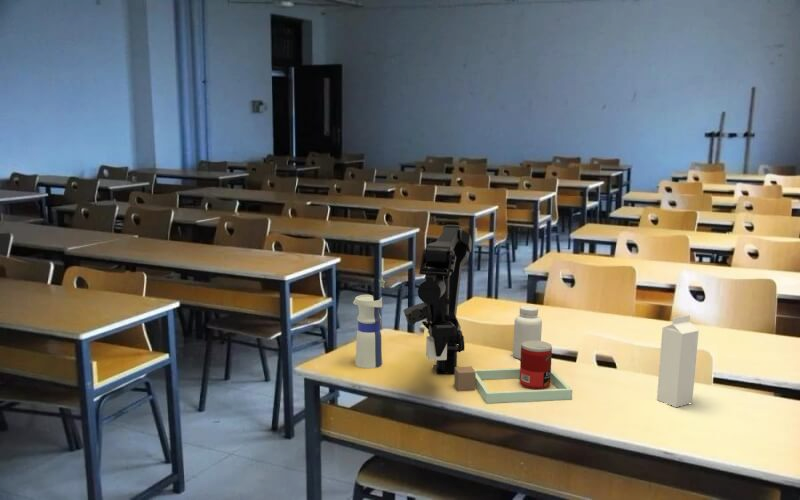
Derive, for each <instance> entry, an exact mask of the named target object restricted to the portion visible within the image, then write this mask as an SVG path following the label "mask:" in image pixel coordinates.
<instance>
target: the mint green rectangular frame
mask: <svg viewBox="0 0 800 500" xmlns="http://www.w3.org/2000/svg"><path fill="white" fill-rule="evenodd" d="M474 371H475V372H476V376H475V389H477V392H479V394H480V396H481V398H483V401H484V402H485V404H498V403H499V404H500V403H518V402H519V403H521V402H522V403H523V402H543V401H546V402H547V401H561V400H562V401H565V400H567V401H568V400H573V389H572V388H571V387H570V386H569V385H568V384H567V383H566V382H565V381H564V380H563V379H562V378H561V377H560V376H559V375H558V373H556V372H555V371H554V370H553V369H552V368H551V377H550V383H552V384H553V386H555V388H551V389H550V388H548V389H547V388H546V389H527V390H506V391H504V390H503V391H490V390H489V388H488V387H487V386H486V385H485V383H484V381H483V380H485V381H487V380H504V379H505V380H506V379H507V380H508V379H509V380H510V379H520V367H512V368H509V367H508V368H493V369H492V368H490V369H488V368H487V369H485V368H484V369H474Z"/></svg>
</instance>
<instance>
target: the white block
mask: <svg viewBox="0 0 800 500" xmlns="http://www.w3.org/2000/svg"><path fill="white" fill-rule="evenodd" d="M425 343H426V347H425V348H426V349H425V356H426V357H427V359H428V361H431V362H432V361H436V360H447V344H446V346H445V348H444V350H443V352H442V354H441V356H440V357H437V356H436V353H435V346H434V339H433V337H432V336H430V335H429V336H426V342H425Z"/></svg>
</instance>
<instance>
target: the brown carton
mask: <svg viewBox="0 0 800 500" xmlns="http://www.w3.org/2000/svg"><path fill="white" fill-rule="evenodd" d="M474 370H475V369H474V368H473V366H457V367H455V373H454V375H453V377H454V378H453V381H454V383H453V385H454V387H455V389H456V390H457V392H472V391H474V392H475V391H476V387H475V376H476V372H475V371H474Z"/></svg>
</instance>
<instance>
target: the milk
mask: <svg viewBox="0 0 800 500" xmlns="http://www.w3.org/2000/svg"><path fill="white" fill-rule="evenodd" d="M690 317H691V316H690V315H683V316H678V317H677V316H676V317H673V318H672V323H671V324H669V325H666V326H663V327H662V328H661V329H662V331H661V343H660V353H659V354H660V356H659V367H658V368H659V369H658V379H657V380H658V382H657V395H656V400H657V401H659V402H661V403H663V402H664V404H666V403H667V404H666V405H668V404H669V405H668V406H670V405H672V406H671V407H673V406H674V407H673V408H675V407H678V408H680V407H679V406H681V407H684V406H683V405H685V406H687V405H686V404H689V403H692V404H693V400H694V399H693V396H694V386H695V376H696V364H697V363H696V362H697V353H698V343H699V342H698V341H699V330H698V328H697V327H696V326H695V325H694V324H693V323H692V322H691V321H690ZM689 405H690V404H689Z"/></svg>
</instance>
